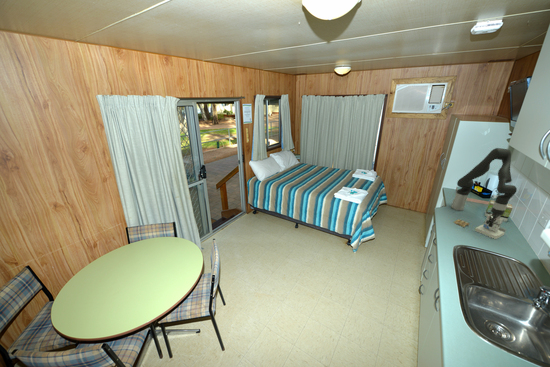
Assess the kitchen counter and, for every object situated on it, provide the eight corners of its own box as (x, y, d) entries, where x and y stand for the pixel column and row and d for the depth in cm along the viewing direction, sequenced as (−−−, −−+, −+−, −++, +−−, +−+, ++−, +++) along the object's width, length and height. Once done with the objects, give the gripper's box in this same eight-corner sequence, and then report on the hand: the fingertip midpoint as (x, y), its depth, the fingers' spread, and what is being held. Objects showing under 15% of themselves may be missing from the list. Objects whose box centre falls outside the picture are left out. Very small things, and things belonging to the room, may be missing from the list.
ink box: (482, 226, 185) (487, 214, 181) (485, 225, 187) (490, 213, 182) (495, 231, 178) (500, 219, 173) (498, 230, 180) (503, 218, 175)
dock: (474, 230, 187) (476, 225, 185) (483, 226, 192) (485, 221, 190) (495, 239, 175) (497, 233, 173) (503, 234, 181) (506, 229, 179)
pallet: (453, 223, 199) (454, 221, 198) (458, 220, 202) (459, 219, 201) (463, 227, 192) (464, 225, 191) (468, 225, 195) (469, 223, 194)
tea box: (484, 216, 208) (490, 203, 203) (484, 212, 215) (490, 199, 209) (506, 222, 198) (512, 208, 193) (506, 217, 205) (512, 204, 200)
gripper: (497, 204, 181) (490, 221, 187) (488, 207, 175) (481, 225, 182) (509, 207, 175) (501, 225, 181) (500, 211, 169) (493, 230, 175)
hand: (491, 225), depth 181 cm, fingers closed on ink box, 5 cm apart
